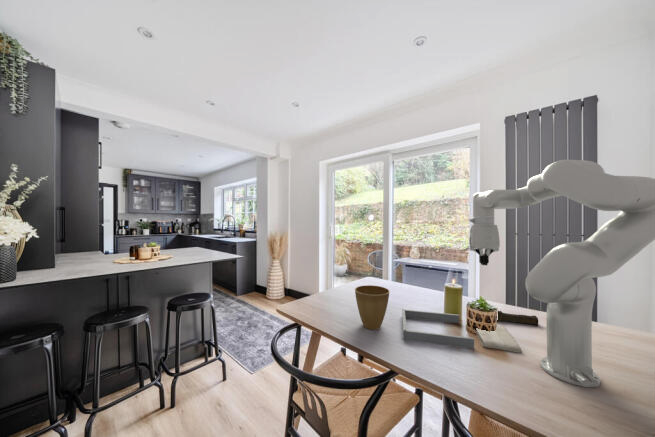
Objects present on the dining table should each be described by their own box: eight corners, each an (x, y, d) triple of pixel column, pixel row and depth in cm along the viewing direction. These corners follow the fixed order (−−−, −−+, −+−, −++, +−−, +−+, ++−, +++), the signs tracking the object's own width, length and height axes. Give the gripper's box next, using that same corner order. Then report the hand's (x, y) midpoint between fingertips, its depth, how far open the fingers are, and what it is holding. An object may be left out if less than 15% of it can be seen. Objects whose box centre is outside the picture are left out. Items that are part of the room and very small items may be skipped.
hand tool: (535, 323, 105) (534, 312, 105) (539, 327, 101) (539, 316, 101) (485, 317, 112) (484, 307, 112) (487, 320, 108) (487, 310, 108)
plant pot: (388, 336, 94) (388, 296, 94) (351, 331, 99) (351, 293, 99) (391, 321, 108) (390, 286, 108) (358, 317, 113) (358, 283, 113)
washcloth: (504, 331, 98) (504, 324, 98) (523, 355, 82) (523, 346, 82) (471, 327, 102) (471, 320, 102) (483, 348, 86) (483, 340, 86)
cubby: (474, 349, 85) (474, 339, 85) (403, 339, 92) (403, 330, 92) (458, 322, 106) (458, 314, 106) (402, 316, 113) (402, 309, 113)
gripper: (466, 221, 99) (466, 265, 99) (508, 221, 94) (508, 267, 94) (461, 221, 106) (461, 262, 106) (500, 221, 102) (500, 263, 102)
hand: (483, 264), depth 100 cm, fingers closed
